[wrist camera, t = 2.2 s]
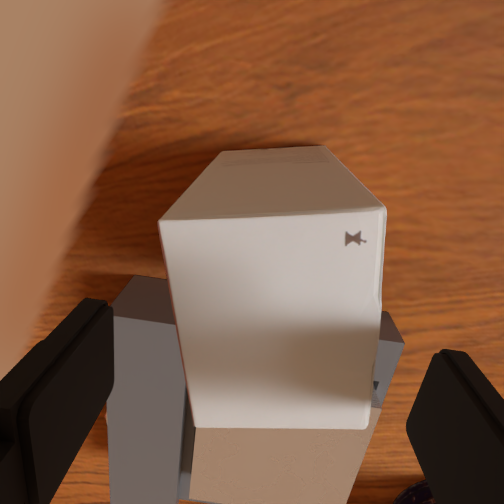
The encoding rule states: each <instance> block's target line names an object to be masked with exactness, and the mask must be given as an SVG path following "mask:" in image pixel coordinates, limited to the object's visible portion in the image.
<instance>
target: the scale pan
mask: <svg viewBox="0 0 504 504" xmlns="http://www.w3.org/2000/svg"><path fill="white" fill-rule="evenodd" d="M381 410H382V408H381V405H380V402H379V399H378V396H377V393H376V390H375V388H374V385H373V392H372V400H371V410H370V417H369V424H368V426H367V428H366V429H363V430H361V429H281V428H197V427H196V432H195V442H194V452H193V462H192V472H191V482H190V492H189V499H194V500H201V501H207V502H214V503H221V504H346V503H347V500H348V497H349V495H350V492H351V489H352V487H353V484H354V482H355V479H356V476H357V474H358V471H359V468H360V466H361V463H362V460H363V458H364V455H365V452H366V450H367V447H368V445H369V442H370V439H371V437H372V434H373V431H374V429H375V426H376V423H377V421H378V418H379V415H380V413H381Z"/></svg>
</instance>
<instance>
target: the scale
mask: <svg viewBox="0 0 504 504" xmlns="http://www.w3.org/2000/svg"><path fill="white" fill-rule="evenodd" d="M110 306H111V307H113V311H114V386H113V389H112V392H111V394H110V396H109V397H108V399H107V412H106V414H105V419H106V422H107V427H108V454H109V481H110V504H178V502H179V499H182V500H189V501H196V502H203V503H210V504H221V503H214V502H207V501H201V500H194V499H189V492H190V482H191V472H192V462H193V452H194V442H195V432H196V427H195V426H193V419H192V413H191V408H190V402H189V397H188V392H187V386H186V381H185V375H184V370H183V365H182V360H181V354H180V347H179V342H178V337H177V331H176V325H175V320H174V315H173V309H172V304H171V298H170V292H169V287H168V281H167V280H166V279H159V278H152V277H145V276H138V275H134V276H133V277H132V279H131V280H130V281H129V282H128V284H127V285H126V286H125V288H124V289H123V290H122V291H121V293H120V294H119V295H118V296H117V298H116V299H115V300H114V302H113V303H112V304H111V305H110ZM404 345H405V343H404V341H403V339H402V337H401V335H400V333H399V331H398V329H397V328H396V326H395V324H394V322H393V320H392V318H391V316H390V314H389V313H388V312H384V311H381V320H380V335H379V343H378V348H377V354H376V361H375V372H374V381H373V385H374V388H375V390H376V393H377V396H378V399H379V402H380V405H381V406H382V403H383V401H384V398H385V395H386V393H387V390H388V387H389V385H390V382H391V379H392V377H393V374H394V371H395V369H396V366H397V363H398V361H399V358H400V355H401V353H402V350H403V347H404Z"/></svg>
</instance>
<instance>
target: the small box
mask: <svg viewBox="0 0 504 504" xmlns="http://www.w3.org/2000/svg"><path fill="white" fill-rule="evenodd" d="M386 219H387V209H386V207H385V206H384V205H383V204H382V203H381V202H380V201H379V200H378V199H377V198H376V197H375V196H374V195H373V194H372V193H371V192H370V191H369V190H368V189H367V188H366V187H365V186H364V185H363V184H362V183H361V182H360V181H359V180H358V179H357V178H356V177H355V176H354V175H353V174H352V173H351V172H350V171H349V170H348V169H347V168H346V167H345V166H344V165H343V164H342V163H341V162H340V161H339V160H338V159H337V158H336V157H335V155H334V154H333V153H332V152H331V151H330V150H329V149H328V148H327V147H326V146H324V145H321V146H304V147H288V148H270V149H251V150H234V151H222V152H220V154H219V155H218V156H217V157H216V158H215V159H214V160H213V161H212V162H211V163H210V164H209V165H208V166H207V167H206V169H205V170H204V171H203V172H202V173H201V174H200V175H199V176H198V178H197V179H196V180H195V181H194V182H193V183H192V184H191V185H190V186H189V188H188V189H187V190H186V191H185V192H184V193H183V194H182V195H181V196H180V197H179V198H178V200H177V201H176V202H175V203H174V204H173V205H172V206H171V207H170V208H169V210H168V211H167V212H166V213H165V214H164V215H163V216H162V217H161V218H160V219H159V220H158V222H157V226H158V232H159V238H160V243H161V249H162V254H163V260H164V265H165V270H166V276H167V281H168V287H169V292H170V298H171V304H172V309H173V315H174V320H175V325H176V331H177V337H178V342H179V347H180V354H181V360H182V365H183V370H184V375H185V381H186V386H187V392H188V397H189V402H190V408H191V413H192V419H193V426H195V427H197V428H281V429H361V430H363V429H366V428H367V426H368V424H369V417H370V410H371V400H372V392H373V381H374V372H375V361H376V354H377V348H378V343H379V335H380V320H381V308H382V303H381V287H382V273H383V260H384V242H385V231H386Z"/></svg>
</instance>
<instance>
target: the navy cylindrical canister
mask: <svg viewBox="0 0 504 504" xmlns="http://www.w3.org/2000/svg"><path fill="white" fill-rule="evenodd" d="M393 504H436V502H435V500H434V497H433V495H432V492H431V490H430V488H429V485H428V483H427V481H426V480H424V481H421V482H418V483H416V484H414V485H412V486H410V487H408V488H407V489H406V490H404V491H403V492H402V493H401V494H400V495H398V497H397V498H396V499H395V501H394V503H393Z"/></svg>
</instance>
